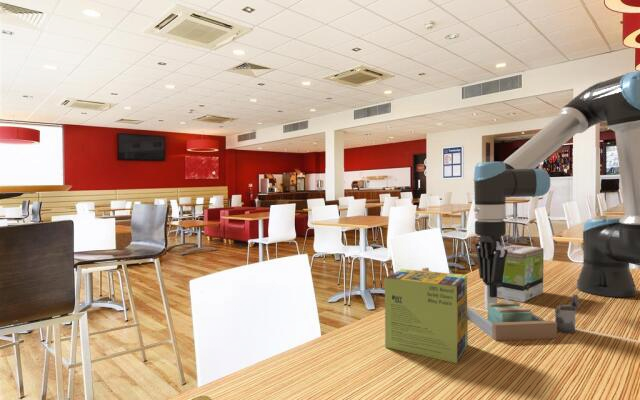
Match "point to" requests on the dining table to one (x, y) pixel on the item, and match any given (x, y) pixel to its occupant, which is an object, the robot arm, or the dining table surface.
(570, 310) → the winch drum
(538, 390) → the dining table surface
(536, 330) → the bay
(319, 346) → the dining table surface
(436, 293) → the protein box
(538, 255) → the tea box
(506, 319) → the crate
